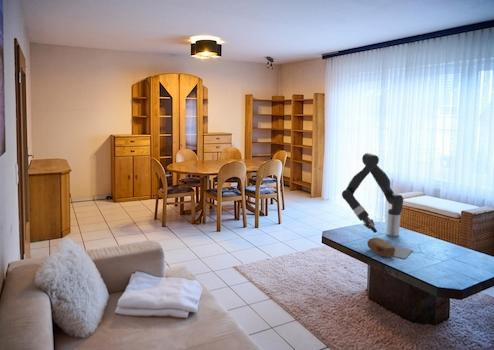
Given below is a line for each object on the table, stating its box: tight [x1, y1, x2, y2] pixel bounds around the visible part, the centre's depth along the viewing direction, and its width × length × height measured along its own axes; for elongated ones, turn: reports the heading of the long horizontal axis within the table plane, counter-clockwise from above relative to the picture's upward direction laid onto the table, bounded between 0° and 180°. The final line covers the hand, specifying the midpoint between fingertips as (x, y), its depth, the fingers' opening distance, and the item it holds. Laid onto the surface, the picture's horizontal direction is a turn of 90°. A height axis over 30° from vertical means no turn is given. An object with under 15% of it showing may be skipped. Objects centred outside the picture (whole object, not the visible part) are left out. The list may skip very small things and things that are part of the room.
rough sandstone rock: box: [366, 237, 395, 258], centre depth 281 cm, size 11×8×20 cm
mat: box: [392, 245, 414, 260], centre depth 285 cm, size 20×20×1 cm
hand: (376, 232), depth 292 cm, fingers closed
